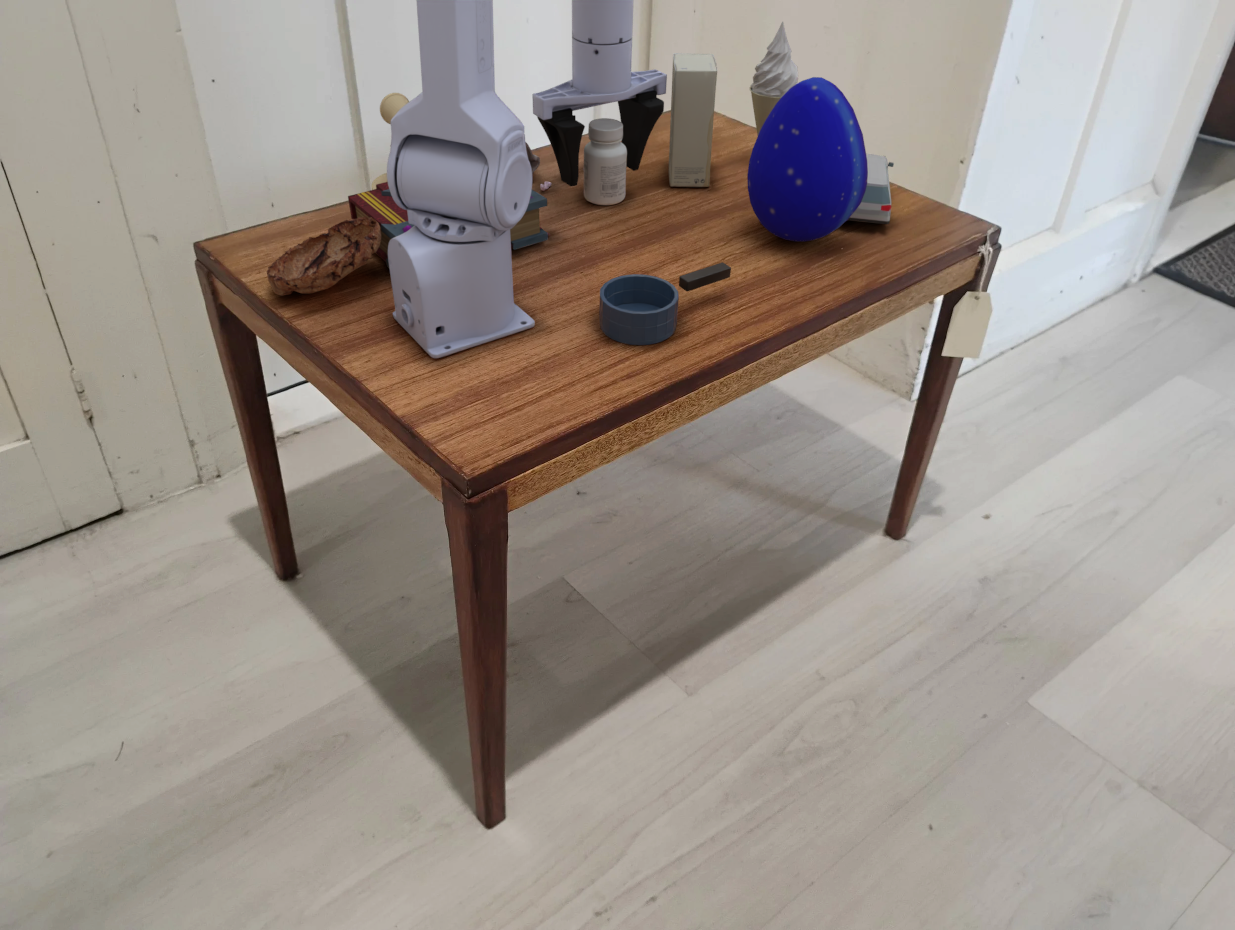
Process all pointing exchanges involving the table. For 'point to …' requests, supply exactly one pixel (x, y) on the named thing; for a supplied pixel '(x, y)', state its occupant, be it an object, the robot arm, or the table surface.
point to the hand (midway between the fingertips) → (600, 174)
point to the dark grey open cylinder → (638, 309)
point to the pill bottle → (605, 163)
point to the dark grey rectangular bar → (704, 276)
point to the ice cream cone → (772, 77)
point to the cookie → (325, 257)
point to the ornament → (808, 163)
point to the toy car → (875, 193)
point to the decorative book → (397, 223)
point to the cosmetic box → (692, 119)
